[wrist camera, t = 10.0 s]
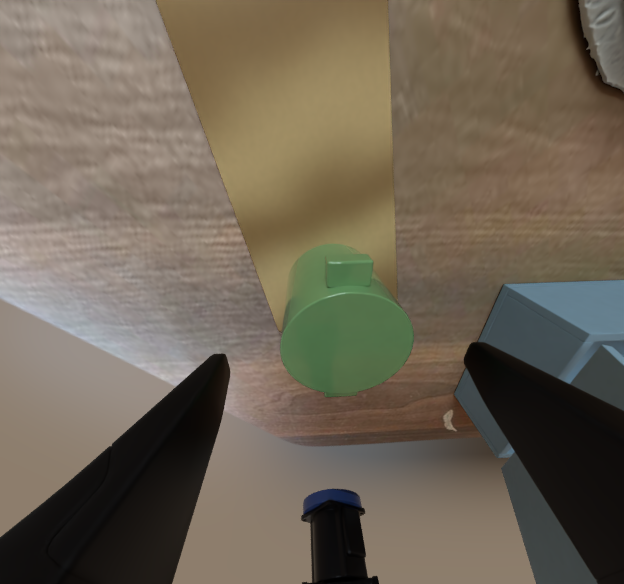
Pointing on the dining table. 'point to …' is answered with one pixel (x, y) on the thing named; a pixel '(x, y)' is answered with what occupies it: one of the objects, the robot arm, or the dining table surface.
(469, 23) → the dining table surface
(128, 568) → the robot arm
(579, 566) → the flap
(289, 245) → the board
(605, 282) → the carton
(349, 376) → the pot
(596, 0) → the turtle shell
